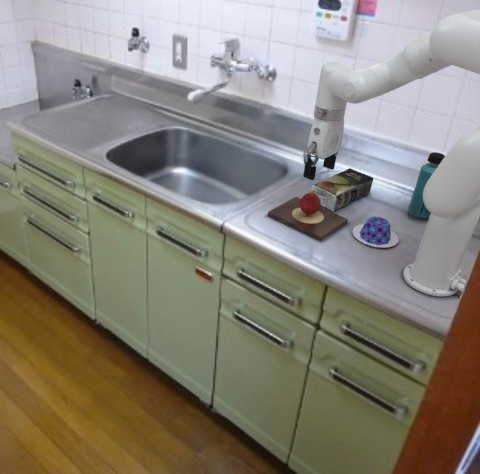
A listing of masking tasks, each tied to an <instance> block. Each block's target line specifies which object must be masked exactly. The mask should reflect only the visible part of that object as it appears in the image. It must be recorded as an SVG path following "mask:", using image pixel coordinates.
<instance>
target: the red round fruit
mask: <svg viewBox="0 0 480 474" xmlns="http://www.w3.org/2000/svg"><path fill="white" fill-rule="evenodd" d="M314 192H315V191H314V190H310V192H308V193H305V194H304V195H303V196H302V197H301V198H300V199H301V200H300V209H301V210H302V212H303V213H305V214H306V215H312V214H314V213H316V212H317V211H318V210H319V209H320V207H322V206H321V202H320V198H319V197H318V196H317V195H316V194H315V193H314Z"/></svg>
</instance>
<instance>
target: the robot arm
mask: <svg viewBox="0 0 480 474" xmlns="http://www.w3.org/2000/svg"><path fill="white" fill-rule="evenodd" d="M450 66H455V67H457V68H460V69H463V70H466V71H468V72H471V73H474V74H477V75H480V9H470V10H466V11H461V12H458V13H454V14H450V15H448V16H446V17H444V18H442V19H441V20H440V21H438V23H437V24H436V25H435V26H434V28H431V29H430V30H428V31H426V32H424V33H422V34H420V35H418V36H416V37H414V38H413V39H411V40H409V41H407V42H406V43H405V45H404V48H403V49H402V50H401V51H399V52H398V53H396V54H395V55H392V56H390V57H389V58H387V59H384V60H382V61H381V62H378V63H376V64H373V65H370V66H366V67H364V68H360V69H354V70H353V67H352V66H351V64H349V63H346V62H342V61H329V62H326V63H324V64H323V65H322V67H321V69H320V75H319V81H318V86H317V87H318V88H317V93H316V99H315V100H316V101H315V106H314V113H313V121H312V125H311V127H310V132H309V137H308V142H307V147H306V149H305V151H303V154H302V156H303V164H304V168H303V173H302V174H303V175H302V176H303V178H305V179H306V180H307V179H308V180H309V181H314V180H315V179H316V172H317V163H318V162H319V160H323V164H322V167H323V168H326V169H329V170H335V165H336V162H337V156H338V154H339V152H340V151H341V148H342V144H343V139H344V138H343V136H344V128H345V114H346V110H347V106H348V105H347V104H355V105H356V104H361V103H364V102H367V101H370V100H372V99H375V98H379V97H381V96H383V95H385V94H388V93H390V92H393V91H395V90H397V89H399V88H402V87H404V86H406V85H408V84H410V83H413V82H415V81H416V80H417V81H418V80H422V79H424V78H427V77H428V76H430V75H433V74H435V73H437V72H439V71H442V70H444V69H446V68H449V67H450ZM312 158H314V159H312ZM423 201H424V204H425V206H426V208H427V209H428V211H429V212H431V215H430V216H429V217H428V221H427V223H426V225H425V229H424V232H423V235H422V238H421V241H420V243H419V247H418V249H417V252H416V255H415V258H414V261H413V262H411V263H409V264H407V265H406V266H405V267H404V269H403V271H402V272H403V273H402V276H403V279H404V280H405V282H406V283H407V284H408V285H409V286H410V287H411V288H413V289H415V290H416V291H418V292H420V293H423V294H424V295H425V294H426V295H429V296H433V297H439V298H440V297H450V296H452V295H455V294H456V293H457V292H458V291H460V292H461V293H463V292H462V291H463V288H464V285H465V283H466V280H467V279H464V278H462V276H460V275H461V274H462V270H461V269H460V266H461V264H462V262H463V260H464V256H465V254H466V251H467V249H468V247H469V245H470V242H471V239H472V237H473V235H474V232H475V229H476V227H477V225H478V222H479V220H480V125H479V126H478V127H475V128H474V129H472V130H470V131H468V132H466V133H465V134H463V135H462V136H461V137H460V138H459V139H458V140H457V141H455V143H454V144H453V145H452V146H451V147H450V149H449V150H448V151H447V153H446V155H445V157H444V159H443V160H442V161H441V163H440V164H439V166H438V167H437V169H436V170H435V171H434V173H433V174H432V176H431V177H430V178H429V180H428V182H427V183H426V185H425V187H424V191H423Z"/></svg>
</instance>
